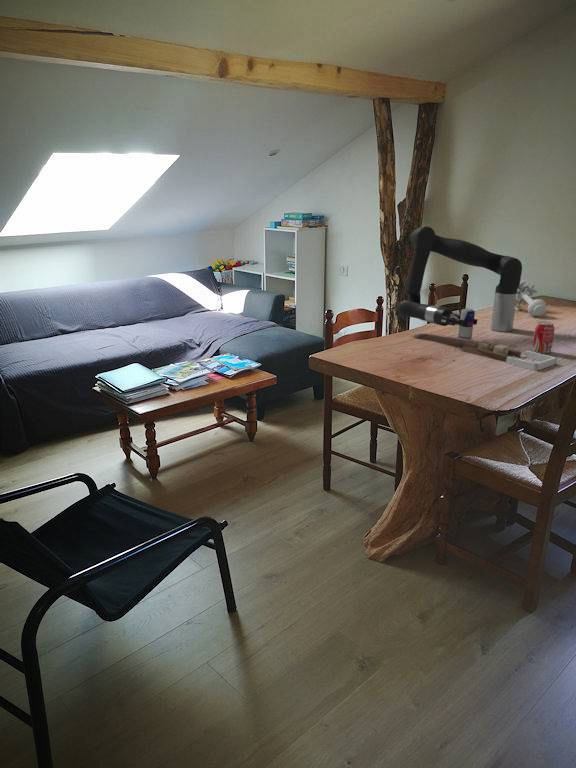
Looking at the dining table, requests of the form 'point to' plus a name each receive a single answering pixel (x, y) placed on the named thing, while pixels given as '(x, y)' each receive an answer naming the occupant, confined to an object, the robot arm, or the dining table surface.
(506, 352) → the chip
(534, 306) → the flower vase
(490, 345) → the tan cube
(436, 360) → the dining table surface
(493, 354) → the slot rails
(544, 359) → the tray
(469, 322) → the energy drink
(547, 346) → the soda can
